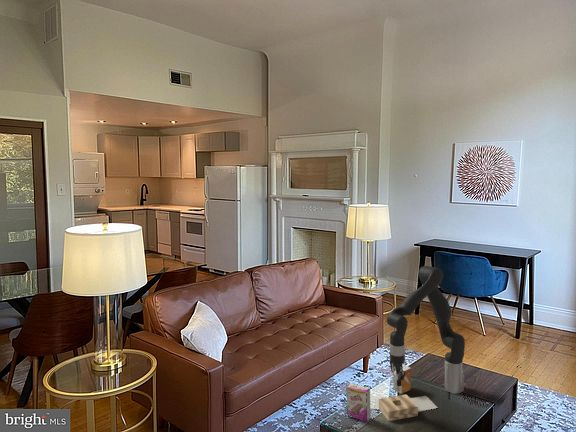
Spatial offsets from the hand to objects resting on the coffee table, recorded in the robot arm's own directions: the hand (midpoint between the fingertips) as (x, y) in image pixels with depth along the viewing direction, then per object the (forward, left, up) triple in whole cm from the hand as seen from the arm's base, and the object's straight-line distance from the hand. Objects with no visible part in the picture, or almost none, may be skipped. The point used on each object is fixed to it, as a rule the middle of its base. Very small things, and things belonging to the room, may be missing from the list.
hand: (397, 384), depth 222 cm
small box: (-12, -19, -15) cm, 27 cm away
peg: (0, 0, -3) cm, 3 cm away
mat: (-15, -3, -15) cm, 22 cm away
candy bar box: (+21, -1, -15) cm, 26 cm away
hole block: (0, 0, -15) cm, 15 cm away
